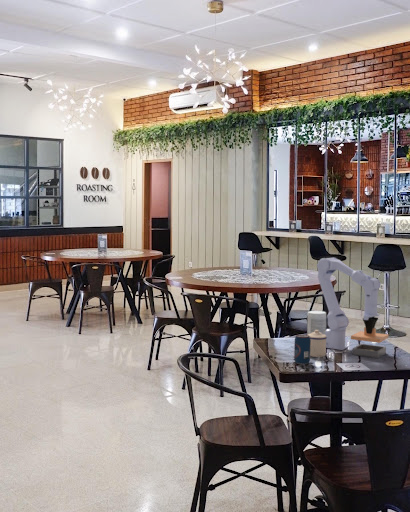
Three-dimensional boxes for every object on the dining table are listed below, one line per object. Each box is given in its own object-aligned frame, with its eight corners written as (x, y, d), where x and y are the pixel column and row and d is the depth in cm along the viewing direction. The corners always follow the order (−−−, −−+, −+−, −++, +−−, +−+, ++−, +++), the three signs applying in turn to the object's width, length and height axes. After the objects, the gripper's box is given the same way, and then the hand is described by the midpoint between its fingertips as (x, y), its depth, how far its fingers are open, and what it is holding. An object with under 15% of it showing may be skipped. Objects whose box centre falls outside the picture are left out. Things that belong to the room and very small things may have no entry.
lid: (350, 339, 296) (350, 328, 296) (360, 334, 308) (360, 324, 307) (379, 342, 289) (380, 331, 288) (388, 337, 300) (388, 327, 300)
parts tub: (352, 354, 297) (352, 348, 297) (360, 350, 307) (361, 343, 307) (378, 358, 290) (378, 351, 290) (385, 353, 301) (386, 347, 300)
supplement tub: (329, 341, 326) (330, 312, 325) (316, 343, 321) (316, 314, 320) (316, 338, 334) (317, 310, 333) (303, 339, 329) (303, 311, 328)
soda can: (291, 361, 282) (291, 334, 281) (305, 360, 285) (305, 333, 284) (298, 365, 276) (299, 337, 275) (313, 363, 278) (313, 336, 277)
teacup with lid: (326, 353, 298) (327, 328, 298) (325, 358, 290) (326, 332, 289) (300, 351, 301) (301, 327, 301) (298, 356, 293) (299, 330, 292)
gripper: (374, 307, 289) (373, 336, 290) (384, 303, 301) (383, 331, 302) (359, 305, 292) (358, 334, 294) (369, 301, 305) (368, 330, 306)
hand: (369, 333), depth 298 cm, fingers closed on lid
